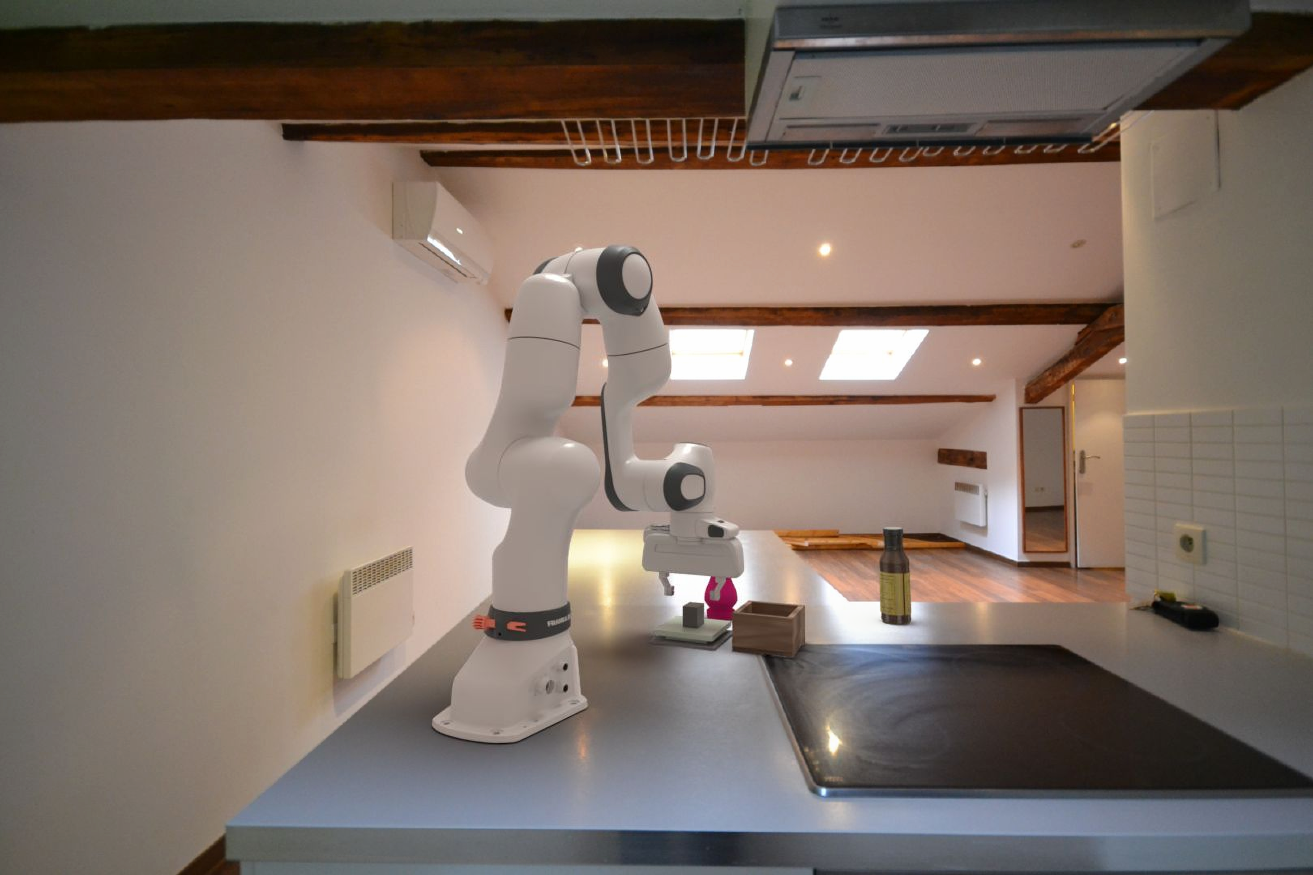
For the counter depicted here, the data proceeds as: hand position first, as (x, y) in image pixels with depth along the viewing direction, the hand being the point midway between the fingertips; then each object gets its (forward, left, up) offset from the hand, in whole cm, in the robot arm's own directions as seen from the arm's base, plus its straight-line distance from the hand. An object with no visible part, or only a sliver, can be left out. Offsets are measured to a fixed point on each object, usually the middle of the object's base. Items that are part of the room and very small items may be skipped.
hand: (691, 597), depth 136 cm
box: (0, -15, -8) cm, 17 cm away
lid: (0, 0, -8) cm, 7 cm away
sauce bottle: (+28, -35, -8) cm, 46 cm away
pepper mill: (+17, 0, -8) cm, 19 cm away
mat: (0, 0, -8) cm, 8 cm away
